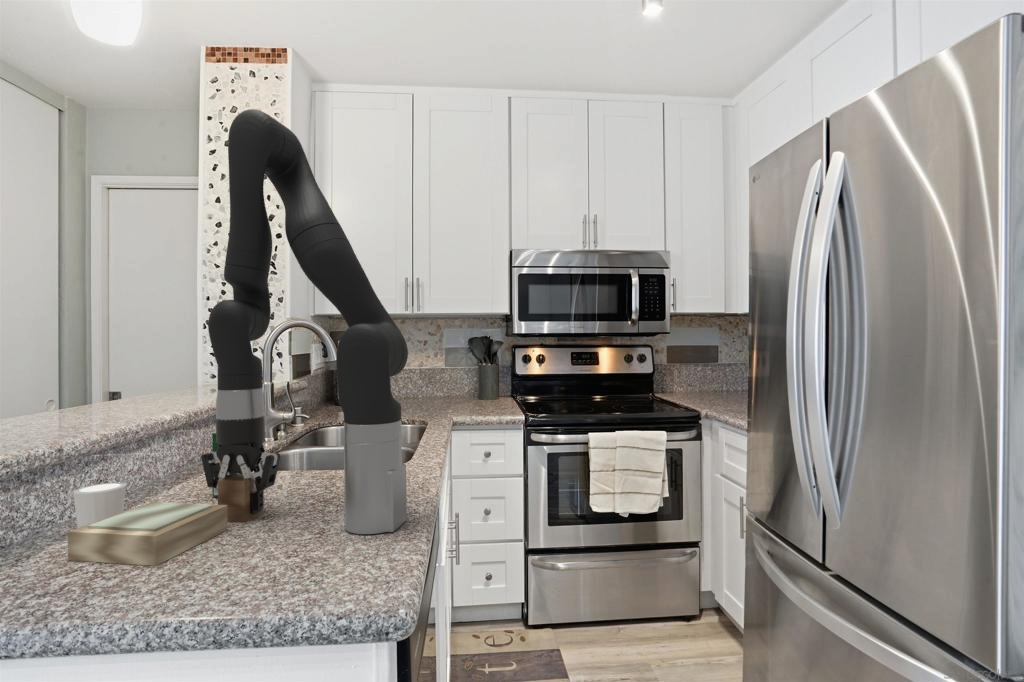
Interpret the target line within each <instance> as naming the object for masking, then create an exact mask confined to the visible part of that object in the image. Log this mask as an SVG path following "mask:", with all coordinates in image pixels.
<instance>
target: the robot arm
mask: <svg viewBox="0 0 1024 682" xmlns="http://www.w3.org/2000/svg"><path fill="white" fill-rule="evenodd" d="M227 137H228V138H227V139H228V140H227V155H228V157H227V158H228V182H229V183H228V185H229V186H228V187H229V188H228V189H229V229H228V230H229V231H228V239H227V247H226V254H225V261H224V270H223V277H224V280H225V282H226V283H227V284H229V285H230V286H231V287H232V291H233V292H232V293H233V294H232V295H233V298H232V299H224V300H221V301H219V302H218V303H216V304H215V305H214V306H213V308H212V309H211V311H210V314H209V315H208V316H209V317H208V321H207V322H208V323H207V327H208V329H207V330H208V335H209V340H210V343H211V348H212V352H213V356H214V359H215V361H216V365H217V390H216V391H217V394H216V401H215V431H216V442H217V443H218V444H219V446H218V449H217V451H216V452H215V451H213V452H212V451H209V452H206V453H204V454H202V455H201V463H202V466H203V471H204V475H205V476H204V477H205V480H206V486H207V487H208V488H209V489H210V488H211V489H212V487H213V488H216V489H217V491H218V480H221V479H226V478H229V477H232V476H235V475H237V474H238V473H239V474H243V477H244V479H245V480H249V481H250V491H251V492H252V493H250V513H251V514H256V513H258V512H260V511H261V509H262V508H263V509H264V500H265V499H264V498H265V497H264V496H265V495H264V492H265V489H268V488H270V487H272V486H275V482H276V478H277V473H278V469H279V464H280V459H281V454H280V453H279V452H275V453H270V452H269V451H268V452H267V451H266V450H265V448H264V445H263V443H264V439H265V397H264V391H263V386H264V385H263V382H264V381H263V380H264V379H263V377H264V376H263V375H264V374H263V363H262V360H261V359H260V357H258V356H257V355H254V353H253V348H252V344H251V342H254V341H256V340H259V339H261V338H262V337H263V336H264V335H265V333H266V332H267V330H268V329H269V325H270V321H271V311H272V309H271V300H270V296H271V295H270V290H269V281H268V280H269V276H270V268H271V262H272V253H273V234H272V229H271V226H270V221H269V218H268V217H269V216H268V213H267V206H266V203H265V194H264V183H265V182H264V180H265V176H266V177H267V178H268V180H269V181H270V182H271V183H272V185H273V187H274V188H275V190H276V192H277V194H278V196H279V198H280V199H281V202H282V204H283V206H284V212H285V216H284V229H285V230H284V231H285V237H286V239H287V243H288V244H289V247H290V250H291V251H292V253H293V255H294V257H295V259H296V262H297V264H299V267H300V269H301V271H302V272H303V273H304V275H305V276H306V277H307V279H308V280H309V281H310V282H311V283H312V284H313V286H314V287H316V289H318V291H319V292H320V293H321V294H322V295H323V296H324V297H325V298H326V299H327V300H328V301H329V302H330V303H331V304H332V305H333V306H334V307H335V308H336V310H337V311H338V312H339V313H340V315H341V317H342V318H343V320H344V321H345V323H346V325H347V327H348V328H346V329H345V330H344V332H343V333H342V335H341V336H340V338H339V340H338V343H337V348H336V360H335V361H336V362H335V363H336V383H337V396H338V397H337V398H338V403H339V406H340V408H341V410H342V413H343V473H344V474H343V477H344V478H343V484H344V487H343V488H344V495H343V496H344V501H343V502H344V514H343V515H344V530H346V532H348V533H352V534H356V535H374V534H382V533H393V532H395V531H396V530H398V528H399V527H400V526H402V525H403V524H404V523H405V522H406V521H407V518H408V516H407V503H408V502H407V500H408V499H407V498H408V497H407V464H406V463H403V458H402V457H403V454H402V453H403V452H402V450H403V449H402V444H403V443H402V442H403V441H402V405H401V403H400V402H399V401H398V400H396V399H395V398H394V396H393V395H392V394H393V393H392V390H391V389H392V388H391V378H392V377H395V376H397V375H398V374H400V373H401V372H402V371H403V369H404V368H405V366H406V365H407V363H408V362H407V361H408V358H409V351H408V350H409V349H408V344H407V341H406V339H405V337H404V335H403V333H402V332H401V330H400V329H399V327H398V325H397V324H396V322H395V321H394V319H392V317H391V315H390V314H389V312H388V311H387V310H386V308H385V306H384V305H383V304H382V302H381V300H380V299H379V297H378V296H377V293H376V292H375V290H374V288H373V286H372V284H371V282H370V280H369V277H368V276H367V274H366V272H365V270H364V267H362V264H361V263H360V261H359V259H358V257H357V254H356V253H355V251H354V249H353V247H352V243H350V240H349V239H348V237H347V235H346V233H345V231H344V229H343V228H342V226H341V223H340V222H339V220H338V218H337V217H336V216H335V213H334V212H333V209H332V208H331V206H330V204H329V202H328V201H327V198H326V197H325V195H324V194H323V192H322V191H321V189H320V187H319V185H318V183H317V180H316V179H315V176H314V173H313V170H312V168H311V166H310V164H309V163H310V162H309V160H308V158H307V155H306V153H305V150H304V147H303V146H302V143H301V142H300V139H299V138H298V136H297V135H296V133H294V132H293V131H292V130H291V129H290V128H288V127H287V126H285V125H284V124H282V123H281V122H280V121H278V120H277V119H275V118H274V117H272V116H270V114H268V113H266V112H264V111H262V110H260V109H255V108H251V109H246V110H243V111H242V112H240V113H238V115H237V116H235V118H234V119H233V120H232V122H231V124H230V127H229V130H228V136H227ZM219 460H220V462H221V463H222V466H221V469H220V464H219ZM261 464H262V465H263V468H262V465H261ZM252 472H253V473H252ZM213 474H214V476H213ZM214 478H215V479H214ZM255 478H257V483H256V480H255Z"/></svg>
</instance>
